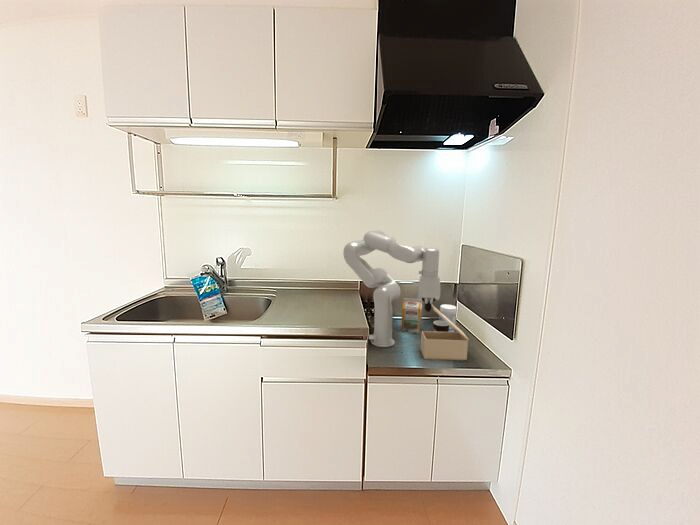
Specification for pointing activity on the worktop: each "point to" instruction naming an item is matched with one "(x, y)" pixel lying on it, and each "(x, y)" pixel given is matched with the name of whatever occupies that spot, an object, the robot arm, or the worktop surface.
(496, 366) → the worktop surface
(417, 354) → the worktop surface
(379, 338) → the robot arm
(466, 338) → the carton flap
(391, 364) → the worktop surface
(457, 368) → the worktop surface
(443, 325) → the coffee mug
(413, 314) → the printed food package
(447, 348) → the carton
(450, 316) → the supplement tub
